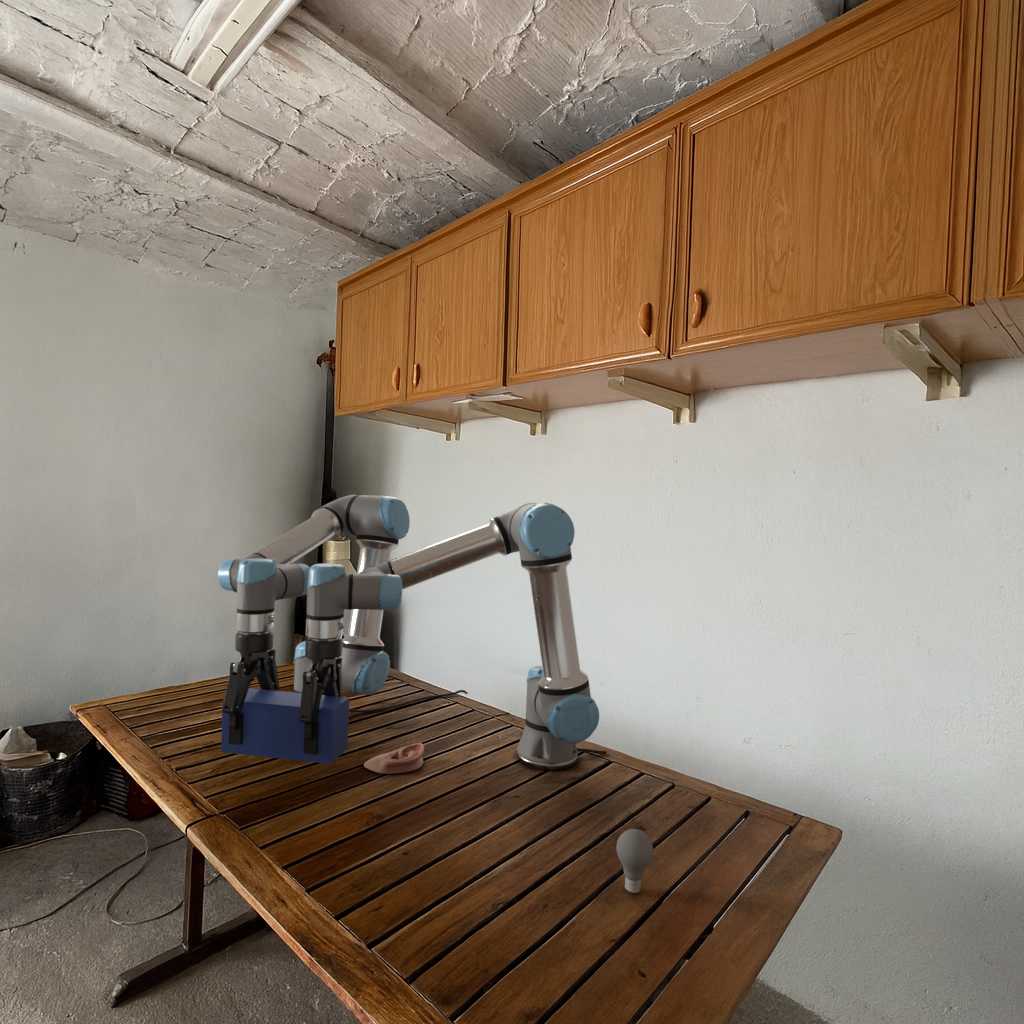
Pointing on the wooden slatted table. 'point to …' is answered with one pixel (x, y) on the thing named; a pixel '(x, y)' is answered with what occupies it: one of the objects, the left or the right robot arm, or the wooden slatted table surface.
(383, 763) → the anatomical model
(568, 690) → the right robot arm
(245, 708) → the box
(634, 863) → the light bulb
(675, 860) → the wooden slatted table surface
